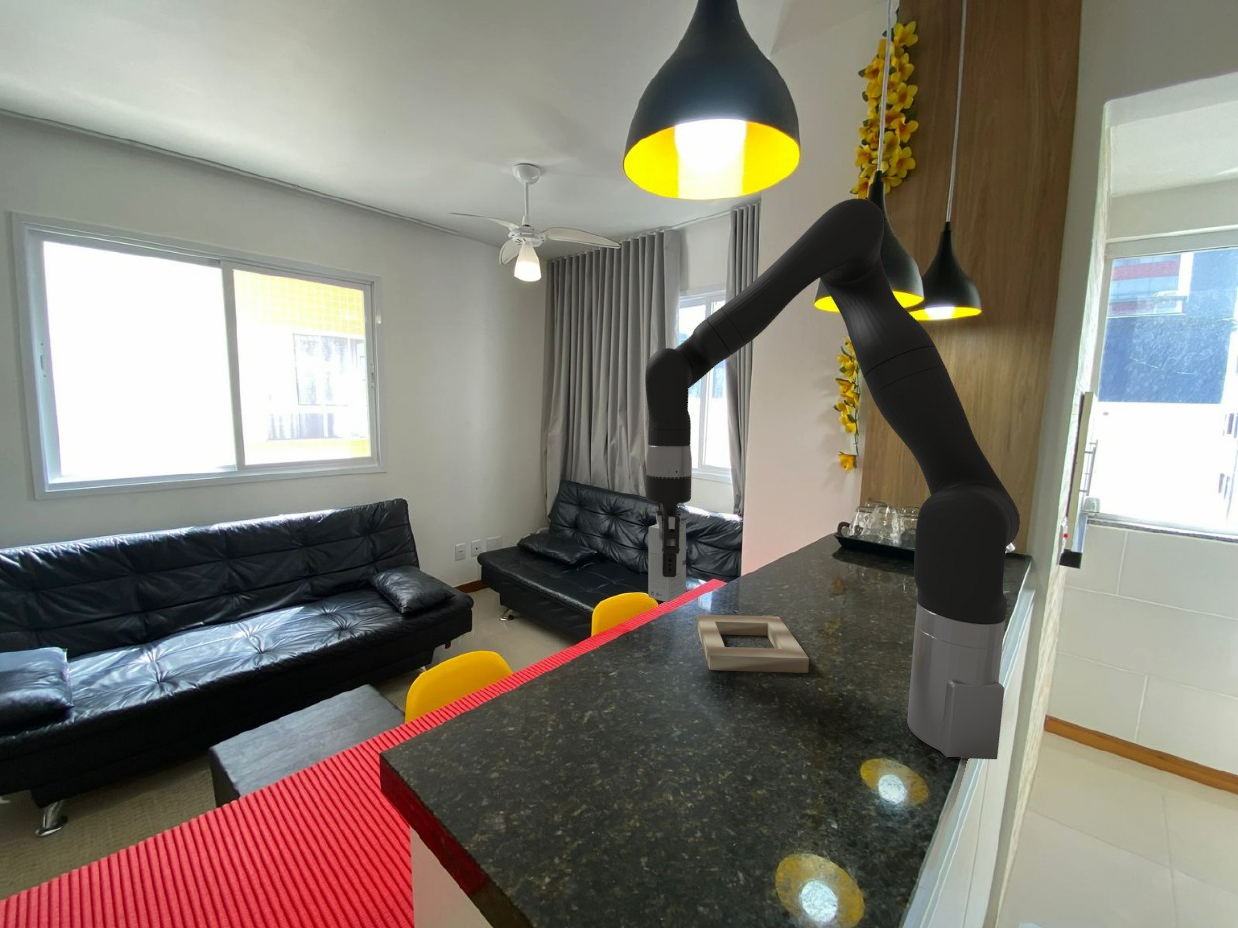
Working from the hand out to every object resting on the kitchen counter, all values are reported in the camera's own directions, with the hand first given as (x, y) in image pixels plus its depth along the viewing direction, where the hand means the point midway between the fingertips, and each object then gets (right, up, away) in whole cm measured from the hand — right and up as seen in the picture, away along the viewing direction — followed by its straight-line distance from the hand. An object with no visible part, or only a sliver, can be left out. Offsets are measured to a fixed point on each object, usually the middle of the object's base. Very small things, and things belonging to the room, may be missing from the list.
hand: (667, 568), depth 81 cm
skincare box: (0, -5, 0) cm, 5 cm away
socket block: (+15, -15, +5) cm, 22 cm away
